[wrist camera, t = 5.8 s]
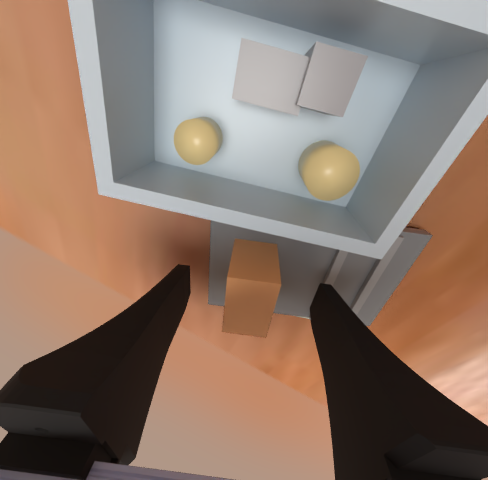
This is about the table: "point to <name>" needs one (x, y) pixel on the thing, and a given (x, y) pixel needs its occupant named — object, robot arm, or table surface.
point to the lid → (298, 275)
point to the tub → (282, 108)
